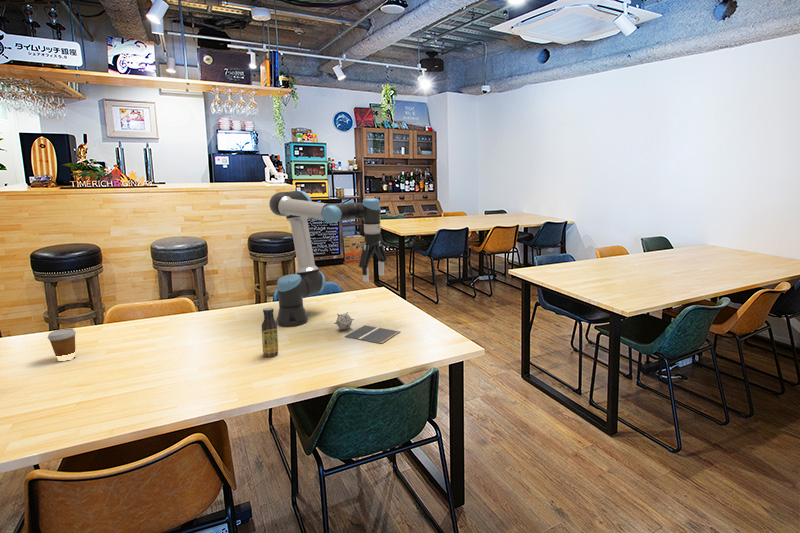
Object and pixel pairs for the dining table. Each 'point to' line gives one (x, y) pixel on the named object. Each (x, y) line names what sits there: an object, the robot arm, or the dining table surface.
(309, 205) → the robot arm
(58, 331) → the disposable coffee cup
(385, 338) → the lane mat
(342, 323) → the game die
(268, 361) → the dining table surface
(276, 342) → the sauce bottle
